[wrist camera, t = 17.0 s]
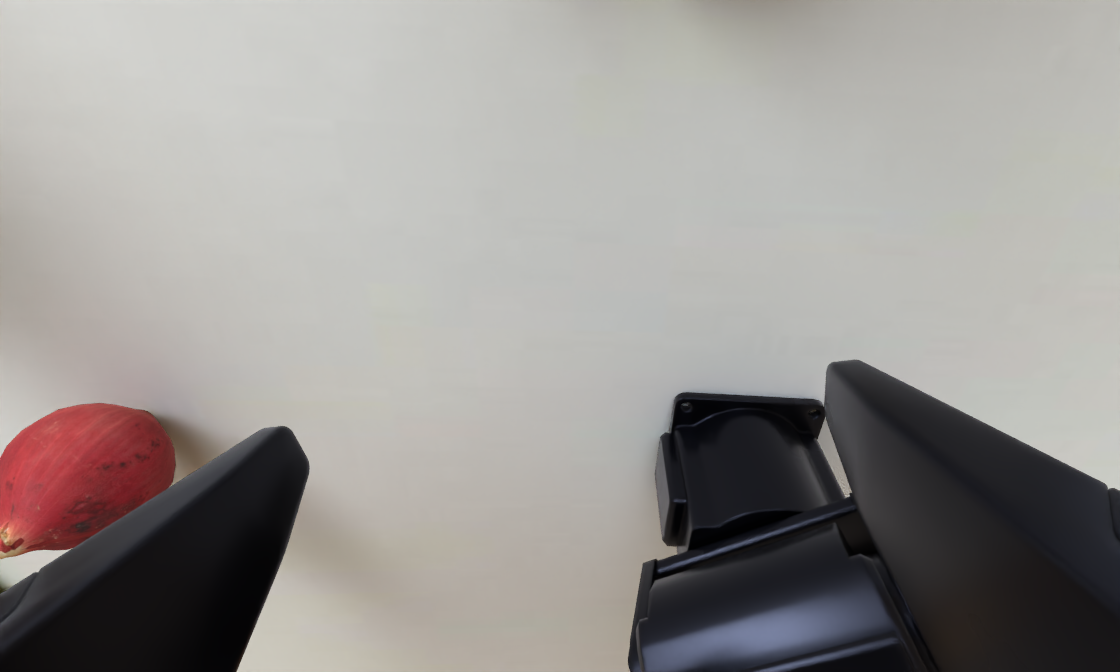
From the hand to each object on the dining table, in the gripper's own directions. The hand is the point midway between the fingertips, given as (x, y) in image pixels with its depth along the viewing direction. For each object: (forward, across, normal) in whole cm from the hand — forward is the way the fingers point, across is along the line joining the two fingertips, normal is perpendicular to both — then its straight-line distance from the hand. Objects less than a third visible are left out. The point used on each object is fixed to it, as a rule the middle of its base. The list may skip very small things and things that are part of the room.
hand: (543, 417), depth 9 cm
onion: (+13, +22, +8) cm, 27 cm away
